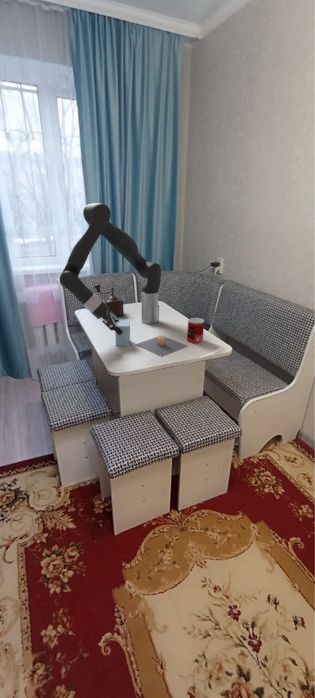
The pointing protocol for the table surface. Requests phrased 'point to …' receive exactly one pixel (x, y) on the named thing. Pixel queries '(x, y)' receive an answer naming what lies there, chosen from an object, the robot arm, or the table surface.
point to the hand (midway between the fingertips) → (122, 330)
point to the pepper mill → (112, 301)
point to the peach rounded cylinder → (161, 341)
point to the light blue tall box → (123, 334)
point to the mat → (161, 351)
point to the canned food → (195, 330)
